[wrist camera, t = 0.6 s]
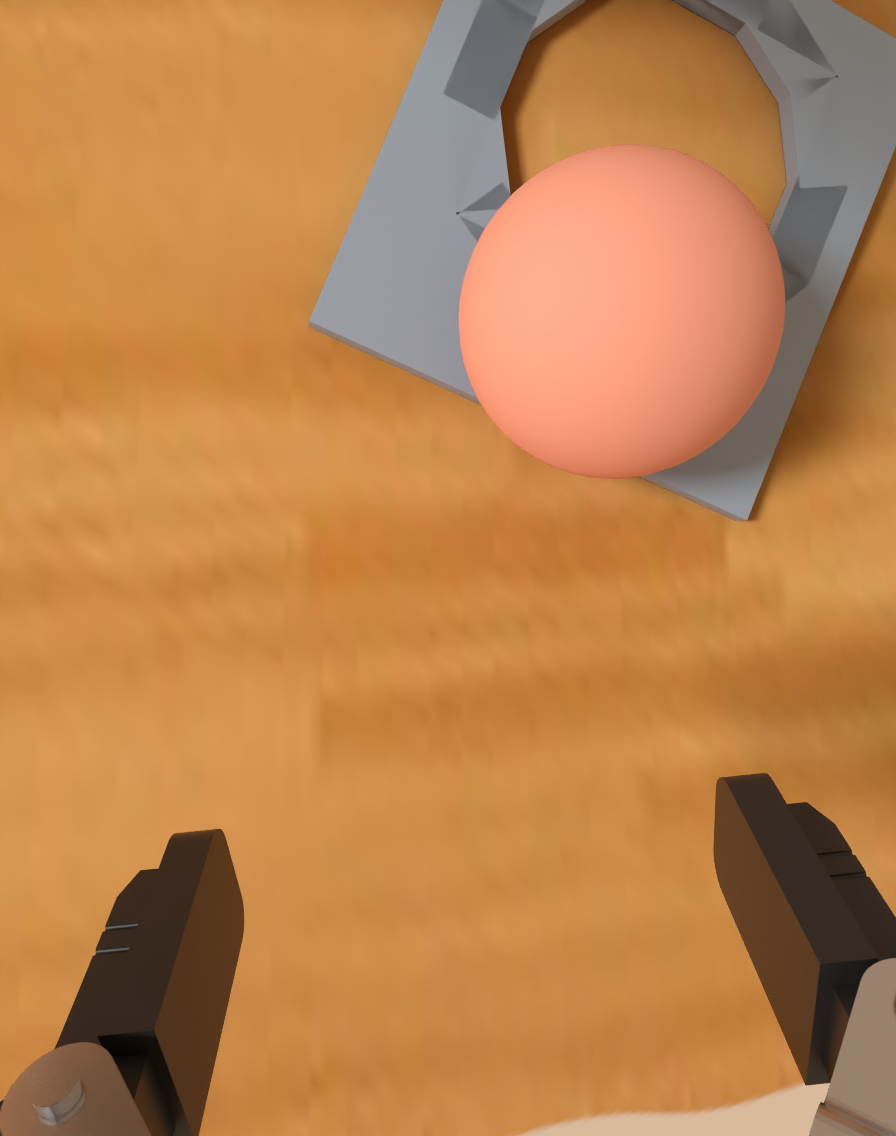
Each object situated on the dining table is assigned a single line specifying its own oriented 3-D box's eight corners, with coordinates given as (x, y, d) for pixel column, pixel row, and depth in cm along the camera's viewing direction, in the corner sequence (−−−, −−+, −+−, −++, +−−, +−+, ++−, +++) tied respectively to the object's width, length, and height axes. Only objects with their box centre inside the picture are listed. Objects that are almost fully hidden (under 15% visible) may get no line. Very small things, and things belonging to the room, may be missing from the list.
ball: (394, 271, 37) (436, 145, 25) (637, 182, 38) (785, 24, 27) (496, 528, 38) (583, 523, 26) (728, 430, 40) (908, 384, 28)
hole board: (736, 520, 41) (746, 520, 40) (308, 326, 37) (309, 321, 36) (915, 70, 42) (930, 58, 41) (514, -164, 38) (519, -183, 37)
